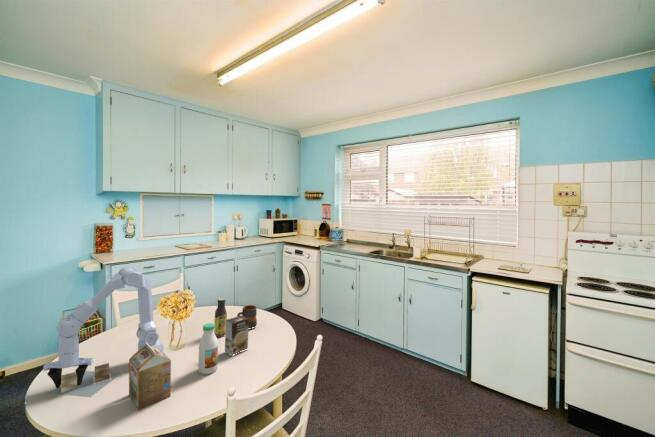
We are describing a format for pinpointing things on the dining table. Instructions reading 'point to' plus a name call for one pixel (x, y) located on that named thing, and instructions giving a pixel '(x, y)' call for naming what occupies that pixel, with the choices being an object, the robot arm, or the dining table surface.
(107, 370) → the walnut block
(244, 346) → the coffee box
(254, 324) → the mug
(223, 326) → the sauce bottle
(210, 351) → the milk bottle
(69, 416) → the dining table surface
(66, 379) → the birch block
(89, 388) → the light blue flat plate
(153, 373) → the milk carton
